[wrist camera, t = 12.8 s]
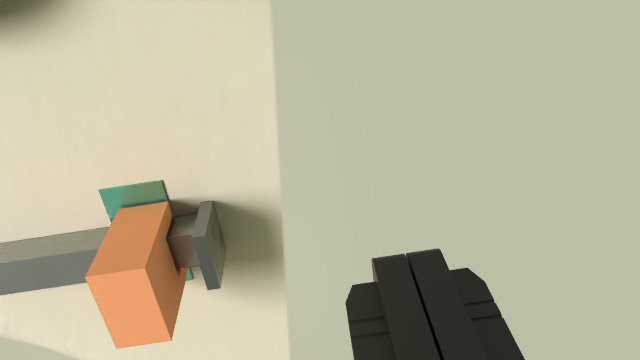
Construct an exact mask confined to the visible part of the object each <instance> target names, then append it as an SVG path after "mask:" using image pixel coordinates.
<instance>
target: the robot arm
mask: <svg viewBox="0 0 640 360" xmlns="http://www.w3.org/2000/svg"><path fill="white" fill-rule="evenodd" d="M372 269H373V278H374V282H370V283H364V284H356V285H352V288H351V290H350V293H349V295H348V298H347V300H346V309H347V316H348V322H349V329H350V336H351V343H352V349H353V356H354V360H525V359H524V357H523V355H522V353H521V351H520V349H519V347H518V345H517V344H516V342H515V340H514V338H513V336H512V334H511V332H510V330H509V328H508V326H507V324H506V322H505V320H504V318H502V316H501V312H500V310H499V309H498V307H497V305H496V303H494V299H493V297H492V295H491V293H490V291H489V289H488V287H487V285H486V283H485V282H484V281H483V280H482V279H481V278H479V277H478V276H477V275H476V274H475V273H473V272H472V271H471V270H470V269H468V268H463V269H456V270H449V268H448V266H447V264H446V262H445V259H444V257H443V255H442V253H441V251H440V249H431V250H425V251H419V252H411V253H406V256H405V255H404V254H399V255H393V256H386V257H379V258H373V259H372Z"/></svg>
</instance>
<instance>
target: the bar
mask: <svg viewBox="0 0 640 360" xmlns="http://www.w3.org/2000/svg"><path fill="white" fill-rule="evenodd" d="M99 193H100V195H101V198H102V200H103V203H104V206H105V208H106V211H107V213H108V216H109V218H110V221H111V223H112V221H113V219H114V217H115V215H116V213H117V211H118V209H121V208H128V207H134V206H141V205H147V204H154V203H161V202H167V201H168V199H167V196H166V193H165V190H164V187H163V184H162V180H161V181H154V182H147V183H141V184H134V185H128V186H121V187H114V188H108V189H101V190H99ZM168 203H169V202H168ZM108 229H109V227H106V228H99V229H92V230H86V231H79V232H72V233H66V234H59V235H53V236H46V237H39V238H33V239H26V240H20V241H13V242H6V243H0V295H6V294H12V293H19V292H26V291H32V290H39V289H46V288H52V287H59V286H65V285H72V284H79V283H85V282H87V281H86V278H85V276H86V274H87V272H88V270H89V268H90V266H91V264H92V262H93V260H94V258H95V256H96V254H97V252H98V250H99V248H100V246H101V244H102V242H103V240H104V238H105V236H106V233H107V231H108ZM166 240H167V243H168V246H169V249H170V252H171V255H172V258H173V261H174V264H175V267H176V269H179V268H185V267H192V266H198V265H200V266H201V270H202V273H203V276H204V280H205V283H206V286H207V289H208V290H212V289H219V288H221V281H222V274H223V267H224V261H225V254H226V248H225V245H224V241H223V237H222V233H221V230H220V226H219V222H218V219H217V215H216V211H215V208H214V204H213V201H206V202H200V206H199V210H198V214H192V215H185V216H178V217H172V220H171V223H170V226H169V229H168V232H167V235H166ZM187 280H193V278H192V275H191V271H190V268H188V272H187V276H186V281H187Z"/></svg>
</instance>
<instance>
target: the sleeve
mask: <svg viewBox="0 0 640 360" xmlns="http://www.w3.org/2000/svg"><path fill="white" fill-rule="evenodd" d="M172 217H173V215H172V212H171V209H170V206H169V203H168V201H167V202H161V203H154V204H147V205H141V206H134V207H128V208H121V209H118V211H117V213H116V215H115V217H114V219H113V221H112V223H111V225H110V227H109V229H108V231H107V233H106V236H105V238H104V240H103V242H102V244H101V246H100V248H99V250H98V252H97V254H96V256H95V258H94V260H93V262H92V264H91V266H90V268H89V270H88V272H87V274H86V276H85V278H86V281H87V283H88V285H89V287H90V290H91V292H92V294H93V297H94V299H95V301H96V303H97V306H98V308H99V310H100V312H101V315H102V317H103V319H104V322H105V324H106V326H107V328H108V331H109V333H110V335H111V337H112V340H113V342H114V344H115V346H116V349H118V348H125V347H131V346H138V345H145V344H151V343H158V342H165V341H171V340H172V336H173V332H174V327H175V323H176V319H177V315H178V310H179V306H180V302H181V298H182V293H183V289H184V285H185V281H186V276H187V272H188V268H189V267H185V268H179V269H176V267H175V264H174V261H173V258H172V255H171V252H170V249H169V246H168V243H167V240H166V235H167V232H168V229H169V226H170V223H171V220H172Z"/></svg>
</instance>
